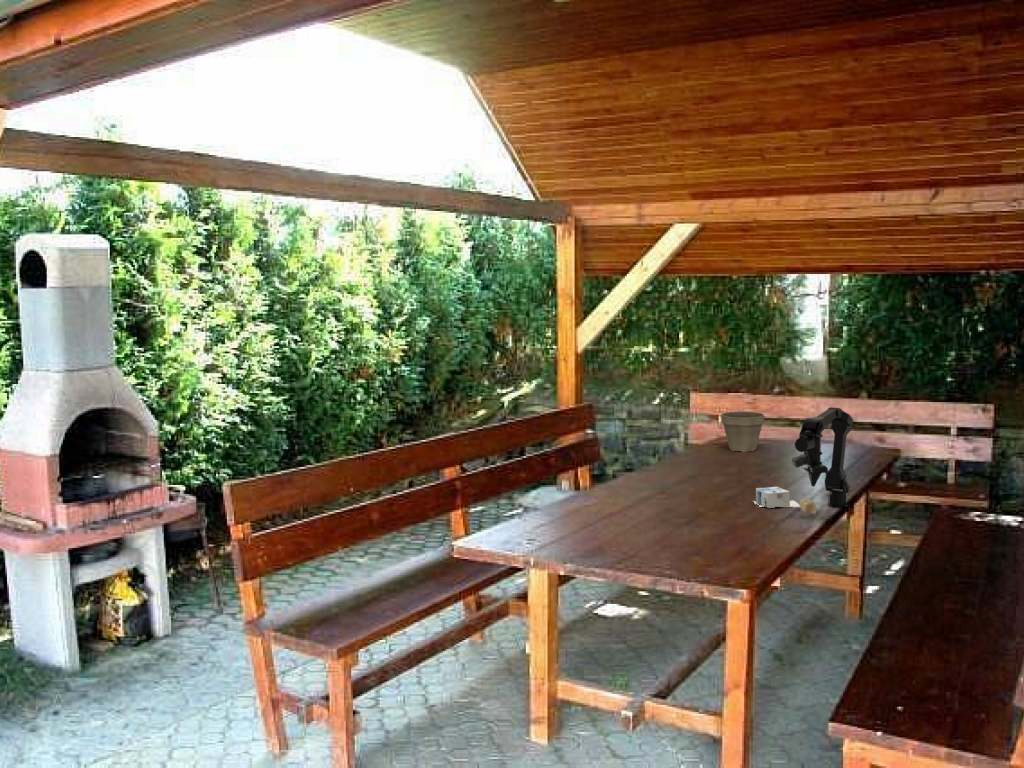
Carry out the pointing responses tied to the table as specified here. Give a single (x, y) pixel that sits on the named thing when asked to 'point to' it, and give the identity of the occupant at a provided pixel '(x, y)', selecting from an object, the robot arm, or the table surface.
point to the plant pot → (742, 429)
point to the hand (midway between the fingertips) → (812, 486)
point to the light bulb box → (772, 497)
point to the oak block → (808, 506)
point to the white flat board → (792, 504)
